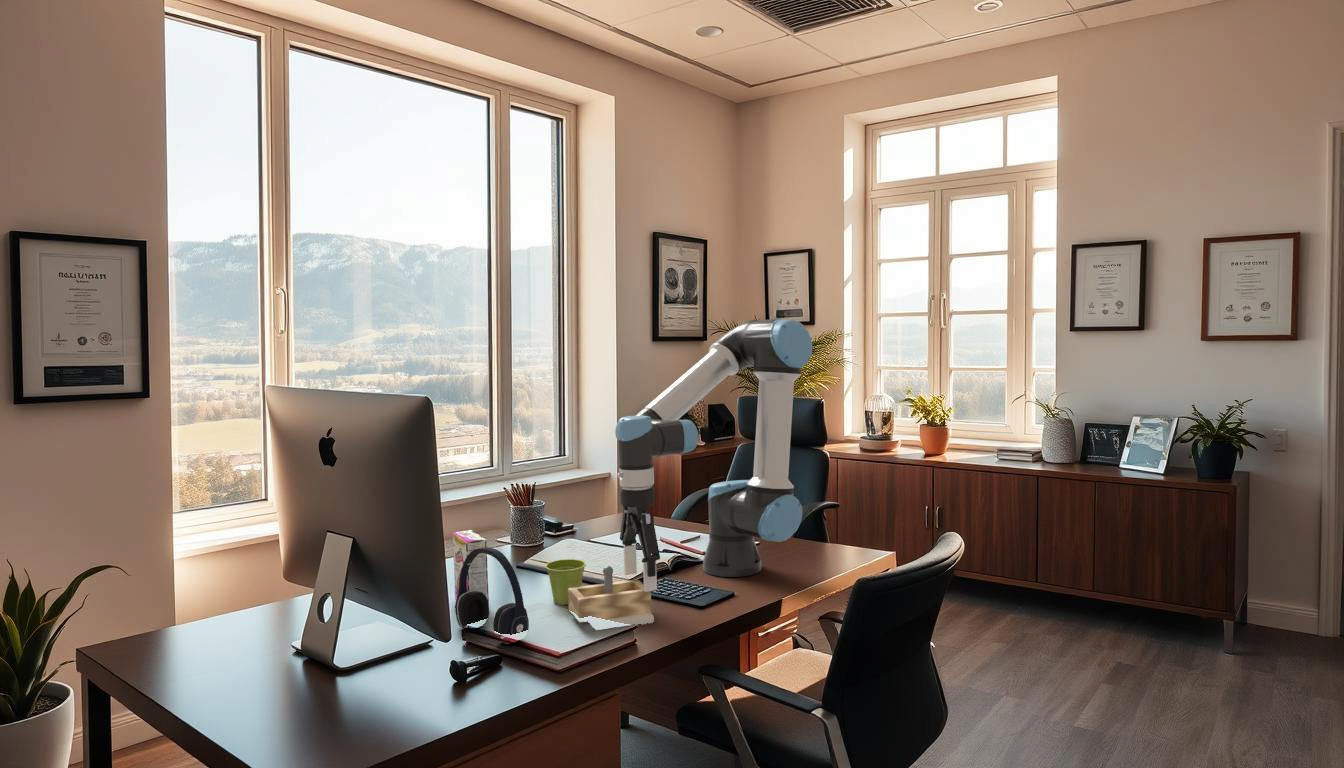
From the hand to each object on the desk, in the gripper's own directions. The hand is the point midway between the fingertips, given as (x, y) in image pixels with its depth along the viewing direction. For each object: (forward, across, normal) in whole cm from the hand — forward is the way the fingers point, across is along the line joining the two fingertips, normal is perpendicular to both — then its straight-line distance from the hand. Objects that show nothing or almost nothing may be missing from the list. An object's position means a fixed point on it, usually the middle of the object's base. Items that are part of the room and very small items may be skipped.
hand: (640, 582), depth 193 cm
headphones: (+7, 0, -33) cm, 34 cm away
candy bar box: (+7, -22, -34) cm, 41 cm away
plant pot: (+7, -16, -13) cm, 22 cm away
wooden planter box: (+6, 0, -7) cm, 9 cm away
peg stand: (+7, 0, -6) cm, 9 cm away
